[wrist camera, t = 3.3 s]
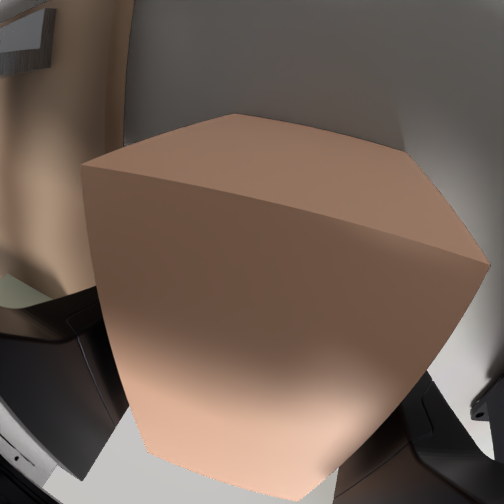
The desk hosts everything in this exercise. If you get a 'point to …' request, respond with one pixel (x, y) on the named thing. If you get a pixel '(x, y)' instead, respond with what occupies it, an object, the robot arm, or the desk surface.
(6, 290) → the pale green rectangular block
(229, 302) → the peach rectangular block
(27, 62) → the bookend
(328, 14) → the desk surface
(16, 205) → the shelf board
